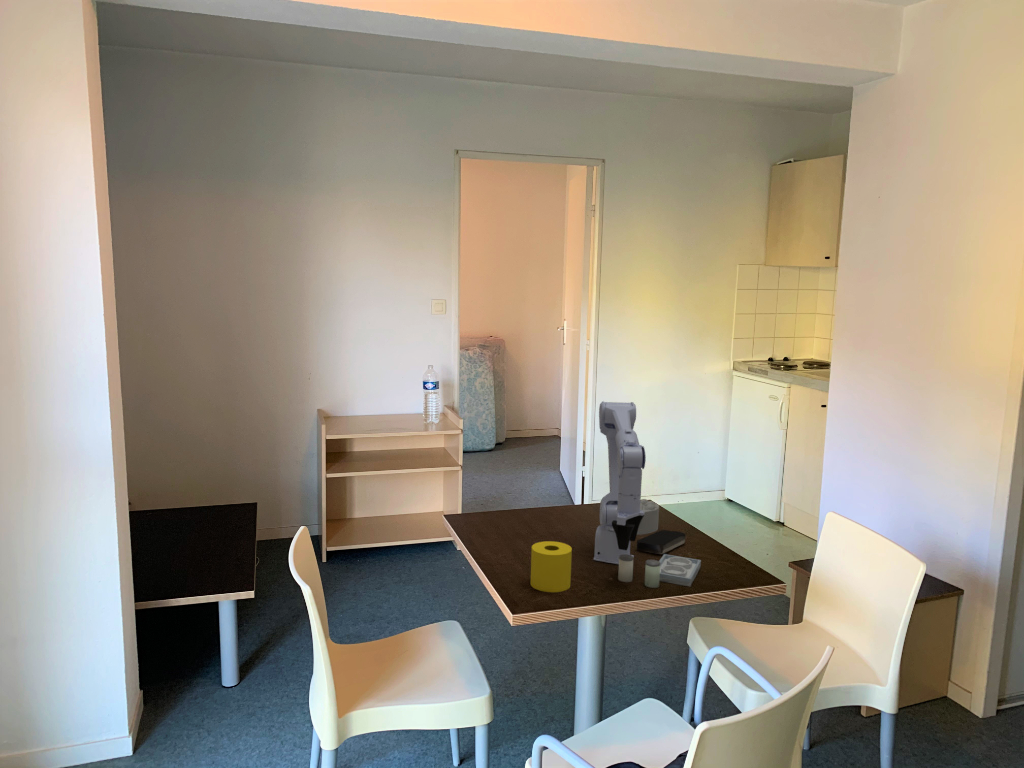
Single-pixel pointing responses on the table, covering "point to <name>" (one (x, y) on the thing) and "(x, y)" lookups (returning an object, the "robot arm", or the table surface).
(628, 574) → the jaw peg ivory
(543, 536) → the table surface
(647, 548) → the black sponge
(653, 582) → the pale green lidded jar
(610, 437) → the robot arm
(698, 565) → the tray
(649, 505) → the lumpy-topped squat cylinder
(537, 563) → the yellow cylinder with hole
